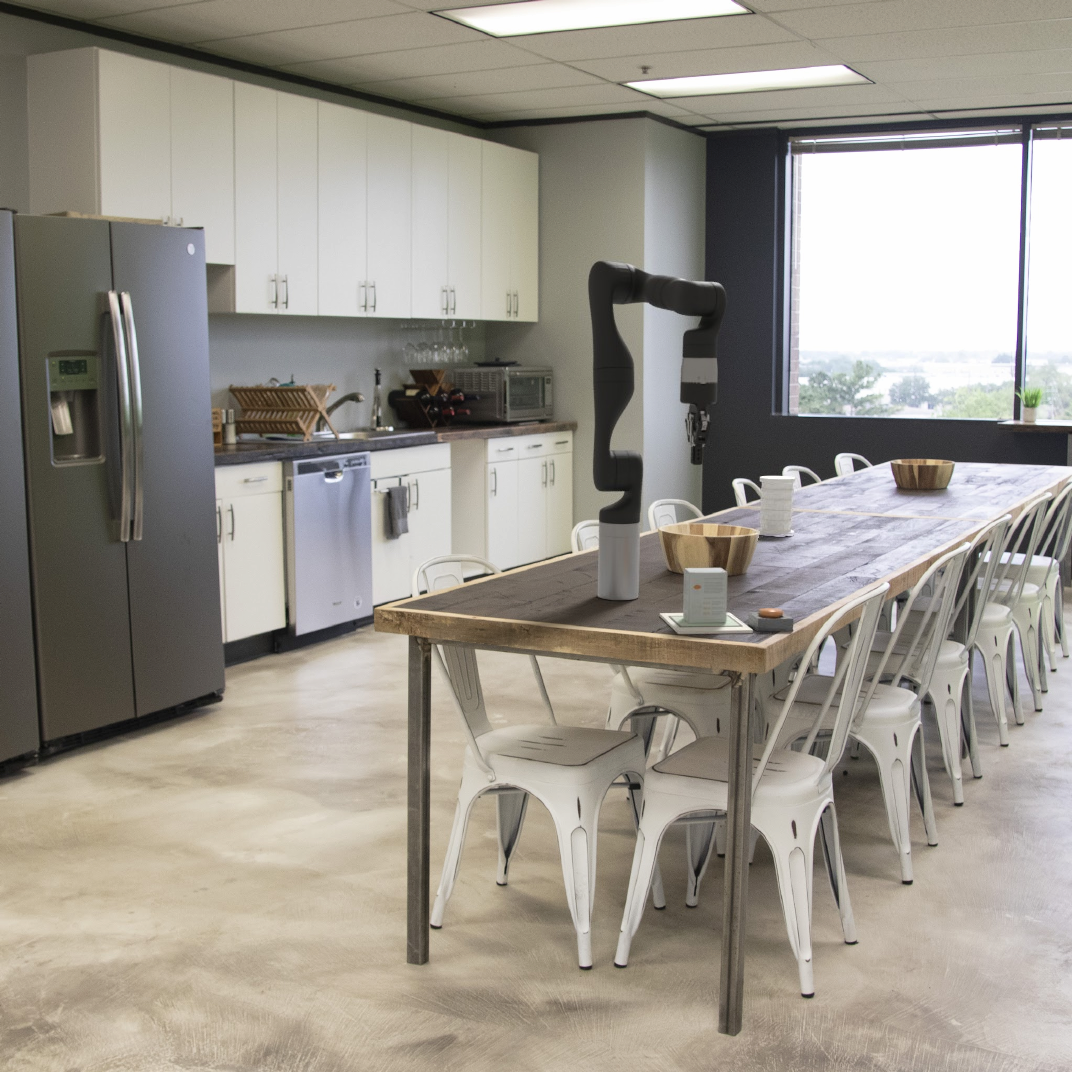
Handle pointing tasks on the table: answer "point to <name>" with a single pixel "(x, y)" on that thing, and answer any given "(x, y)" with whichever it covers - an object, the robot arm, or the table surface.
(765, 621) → the button base
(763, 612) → the button
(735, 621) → the white rectangular board
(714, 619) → the small box
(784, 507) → the decorative container
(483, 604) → the table surface
